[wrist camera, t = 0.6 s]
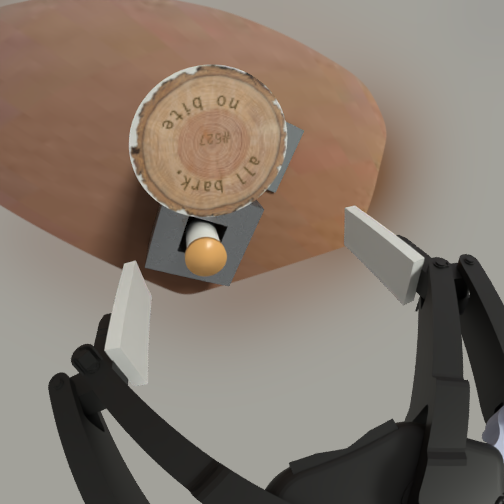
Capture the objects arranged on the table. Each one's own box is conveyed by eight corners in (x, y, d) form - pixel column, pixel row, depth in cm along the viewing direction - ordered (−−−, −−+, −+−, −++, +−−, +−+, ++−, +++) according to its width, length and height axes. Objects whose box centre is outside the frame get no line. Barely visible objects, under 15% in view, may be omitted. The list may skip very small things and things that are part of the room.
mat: (210, 169, 35) (210, 169, 35) (239, 101, 32) (239, 101, 31) (274, 191, 39) (275, 192, 39) (303, 130, 36) (304, 130, 35)
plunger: (178, 242, 35) (180, 271, 30) (189, 211, 34) (192, 235, 28) (211, 250, 37) (218, 279, 32) (223, 221, 35) (233, 246, 30)
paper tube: (217, 141, 34) (286, 208, 13) (166, 147, 32) (141, 227, 12) (215, 92, 30) (287, 64, 9) (162, 97, 29) (122, 76, 8)
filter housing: (148, 245, 39) (144, 267, 34) (171, 168, 34) (170, 179, 29) (222, 263, 43) (229, 286, 38) (252, 194, 39) (264, 209, 34)
